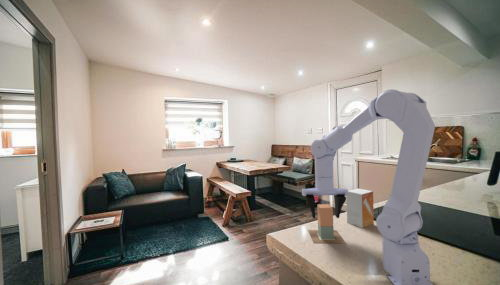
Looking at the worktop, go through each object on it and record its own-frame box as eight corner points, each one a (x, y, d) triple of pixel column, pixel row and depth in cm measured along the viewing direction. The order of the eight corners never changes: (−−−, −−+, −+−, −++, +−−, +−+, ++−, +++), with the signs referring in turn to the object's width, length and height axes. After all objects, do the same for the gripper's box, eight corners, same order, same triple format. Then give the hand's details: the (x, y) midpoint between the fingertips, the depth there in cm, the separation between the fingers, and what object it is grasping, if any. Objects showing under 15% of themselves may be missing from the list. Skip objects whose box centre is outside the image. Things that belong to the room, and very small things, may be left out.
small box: (362, 230, 77) (362, 194, 77) (346, 224, 82) (345, 191, 82) (374, 225, 81) (373, 190, 81) (358, 220, 86) (357, 188, 86)
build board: (346, 246, 66) (346, 243, 66) (313, 246, 66) (313, 243, 66) (336, 232, 76) (336, 230, 76) (307, 232, 76) (307, 229, 76)
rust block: (333, 226, 69) (332, 208, 69) (320, 226, 69) (320, 208, 69) (329, 221, 73) (329, 204, 73) (317, 221, 73) (317, 204, 73)
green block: (333, 239, 69) (333, 226, 69) (321, 239, 69) (320, 226, 69) (330, 233, 73) (329, 222, 73) (318, 233, 73) (317, 222, 73)
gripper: (342, 173, 74) (343, 212, 74) (300, 174, 75) (301, 212, 76) (350, 177, 67) (351, 220, 67) (303, 178, 68) (304, 220, 69)
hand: (325, 217), depth 71 cm, fingers open, 7 cm apart
